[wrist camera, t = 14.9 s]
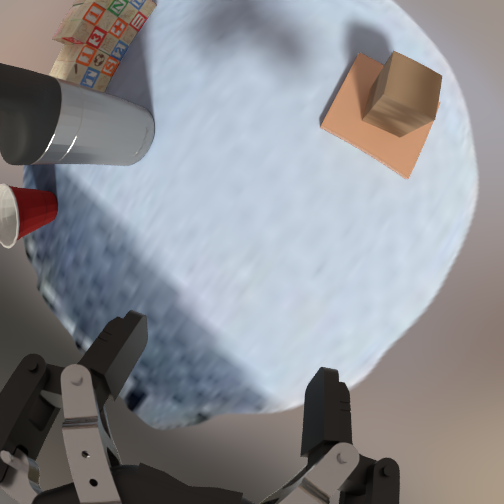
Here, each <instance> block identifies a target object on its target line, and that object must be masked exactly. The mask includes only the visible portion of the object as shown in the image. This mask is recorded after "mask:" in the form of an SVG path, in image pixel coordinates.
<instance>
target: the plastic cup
mask: <svg viewBox="0 0 504 504" xmlns="http://www.w3.org/2000/svg"><path fill="white" fill-rule="evenodd" d="M57 210H58V204H57V199H56V197H55V195H54V194H53V193H52V192H49V191H41V190H36V189H26V188H17V187H11V186H8V185H7V184H0V243H1V244H2V245H3V246H4V247H6V248H11V247H12V246H13V245H14V244H15V243H16V241H17V240H19V239H20V238H21V237H23V236H25V235H27V234H29V233H31V232H32V231H34V230H36V229H38V228H40V227H41V226H43V225H46V224H48V223H50V222H51V221H53V220H54V219H55V217H56V215H57Z"/></svg>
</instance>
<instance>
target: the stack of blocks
mask: <svg viewBox="0 0 504 504" xmlns="http://www.w3.org/2000/svg"><path fill="white" fill-rule="evenodd" d="M156 6H157V5H156V4H155V3H154V2H153V1H152V0H76V1H75V2H74V4H73V6H72V7H71V8H70V10H69V12H68V13H67V15H66V16H65V18H64V19H63V22H62V23H61V25H60V26H59V28H58V29H57V31H56V33H55V35H54V36H53V38H52V39H53V40H56V41H58V42H61V43H63V44H64V47H63V48H62V50H61V52H60V54H59V56H58V58H57V60H56V62H55V64H54V66H53V68H52V70H51V72H50V74H49V76H53V77H56V78H60V79H63V80H67V81H70V82H74V83H77V84H80V85H83V86H86V87H89V88H93V89H95V90H98V91H101V92H105V90H106V88H107V86H108V84H109V82H110V79H111V77H112V76H113V74H114V72H115V70H116V68H117V66H118V65H119V63H120V60H121V59H122V57H123V55H124V54H125V52H126V50H127V48H128V47H129V45H130V43H131V42H132V40H133V39H134V37H135V35H136V34H137V32H138V31H139V30H140V28H141V27H142V25H143V24H144V22H145V21H146V19H147V18H148V17H149V15H150V14H151V13H152V11H153V10H154V9H155V7H156Z"/></svg>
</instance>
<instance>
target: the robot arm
mask: <svg viewBox="0 0 504 504" xmlns="http://www.w3.org/2000/svg"><path fill="white" fill-rule="evenodd" d="M153 137H154V121H153V118H152V116H151V114H150V113H149V111H148V110H147V109H145V108H144V107H141V106H139V105H136V104H134V103H131V102H129V101H126V100H124V99H121V98H118V97H115V96H113V95H110V94H107V93H104V92H101V91H98V90H95V89H93V88H89V87H86V86H83V85H80V84H77V83H74V82H70V81H67V80H63V79H60V78H56V77H53V76H49V75H44V74H41V73H37V72H34V71H30V70H26V69H23V68H19V67H14V66H10V65H6V64H2V63H0V152H1V155H2V157H3V159H4V160H5V161H6V162H7V163H8V164H11V165H33V164H96V165H118V166H128V165H132V164H134V163H136V162H138V161H139V160H140V159H141V158H142V157H144V155H145V154H146V153H147V151H148V150H149V148H150V146H151V144H152V141H153ZM147 340H148V329H147V316H146V315H144V314H141V313H138V312H136V311H133V310H130V311H129V312H128V313H127V314H126V316H125V317H124V318H120V317H116V318H115V319H113V320H111V321H110V322H108V324H107V325H106V326H105V328H104V329H103V331H102V332H101V333H100V334H99V336H98V338H96V340H95V341H94V342H93V344H92V345H91V346H90V348H89V349H88V351H87V352H86V353H85V355H84V356H83V358H82V359H81V360H80V361H79V362H78V363H77V364H73V365H69V366H68V367H66V368H63V367H58V366H54V365H50V364H46V362H45V360H44V359H43V358H42V357H41V356H40V355H38V354H29V355H27V356H26V357H24V358H23V360H22V361H21V362H20V364H19V365H18V367H17V368H16V370H15V371H14V373H13V374H12V376H11V377H10V379H9V380H8V382H7V383H6V385H5V386H4V388H3V390H2V391H1V393H0V488H1V489H2V490H3V491H5V492H6V493H7V494H8V495H9V496H11V497H12V498H13V499H14V500H16V501H17V502H18V503H19V504H255V503H253V502H252V501H250V500H248V499H247V498H245V497H242V495H243V493H240V492H234V491H230V490H225V489H221V488H212V487H192V486H188V485H186V484H184V483H182V482H180V481H179V480H177V479H175V478H174V477H172V476H170V475H169V474H167V473H165V472H163V471H160V470H158V469H155V468H153V467H150V466H147V465H145V464H143V463H140V465H139V466H137V465H122V463H121V460H120V457H119V454H118V451H117V449H116V446H115V444H114V442H113V439H112V435H111V431H110V427H109V423H108V420H107V415H106V411H105V407H104V404H105V402H106V400H107V399H108V398H109V399H111V400H112V401H115V400H116V398H117V397H118V395H119V393H120V391H121V389H122V388H123V386H124V384H125V382H126V380H127V379H128V377H129V375H130V373H131V372H132V370H133V368H134V366H135V364H136V363H137V361H138V359H139V358H140V356H141V354H142V352H143V351H144V349H145V347H146V344H147ZM61 408H63V409H64V416H65V422H64V423H63V424H62V431H63V437H64V443H65V447H66V453H67V457H68V461H69V465H70V469H71V473H72V477H73V481H74V482H73V483H70V484H66V485H63V486H60V487H57V488H54V489H50V490H47V491H42V490H41V488H40V485H39V477H40V470H39V467H38V465H37V463H36V462H35V461H36V459H37V456H38V454H39V452H40V450H41V448H42V445H43V443H44V441H45V439H46V437H47V435H48V433H49V431H50V428H51V427H52V424H53V423H54V421H55V418H56V417H57V415H58V413H59V411H60V409H61ZM350 410H351V408H350V394H349V390H348V388H347V386H346V384H345V383H344V382H339V374H338V370H336V369H331V368H325V367H321V368H320V369H319V370H318V371H317V373H316V374H315V376H314V377H313V378H312V380H311V381H310V383H309V384H308V386H307V389H306V392H305V402H304V419H303V432H302V445H301V457H308V463H307V464H306V465H305V466H304V467H303V468H302V469H301V470H300V471H299V472H298V473H297V474H296V475H294V476H293V477H292V478H291V479H290V480H289V481H288V482H287V483H286V484H284V485H283V486H282V487H281V488H280V489H279V490H277V491H276V492H274V493H273V494H271V495H270V496H268V497H267V498H266V499H265V500H263V501H262V502H261V503H260V504H329V503H330V501H329V499H330V497H331V496H332V495H333V494H334V493H335V492H336V490H339V491H340V498H339V504H399V491H400V490H399V489H400V473H399V471H400V470H399V466H398V464H397V463H396V461H394V460H393V459H391V458H383V459H381V460H379V461H376V460H373V459H371V458H367V457H365V456H362V455H361V454H359V453H358V451H357V449H356V448H355V447H354V446H353V443H352V430H351V429H352V428H351V413H350Z"/></svg>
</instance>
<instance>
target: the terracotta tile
mask: <svg viewBox="0 0 504 504" xmlns="http://www.w3.org/2000/svg"><path fill="white" fill-rule="evenodd" d="M383 67H384V65H382V64H381V63H379V62H377V61H375V60H373V59H371V58H369V57H368V56H366V55H364V54H362V53H360V52H359V54H358V56H357V58H356V60H355V61H354V63H353V65H352V67H351V69H350V71H349V73H348V75H347V77H346V79H345V81H344V83H343V84H342V86H341V88H340V90H339V92H338V94H337V96H336V98H335V100H334V102H333V104H332V105H331V107H330V109H329V111H328V113H327V115H326V117H325V119H324V121H323V123H322V125H321V128H322V129H324V130H326V131H327V132H329V133H331V134H333V135H335V136H337V137H339V138H340V139H342V140H344V141H346V142H348V143H349V144H351V145H353V146H355V147H356V148H358V149H360V150H361V151H363V152H365V153H366V154H368V155H370V156H371V157H373V158H374V159H376V160H378V161H379V162H381V163H382V164H384V165H385V166H387V167H388V168H390V169H392V170H393V171H394V172H396V173H397V174H399V175H400V176H402V177H403V178H405V179H408V178H409V176H410V174H411V172H412V170H413V168H414V166H415V164H416V161H417V159H418V157H419V155H420V152H421V150H422V148H423V146H424V143H425V141H426V138H427V136H428V134H429V131H430V129H431V126H432V124H433V121H432V122H430V123H428V124H426V125H424V126H422V127H420V128H418V129H416V130H414V131H412V132H410V133H408V134H406V135H404V136H402V137H400V138H399V137H397V136H395V135H393V134H391V133H389V132H387V131H385V130H382V129H380V128H378V127H376V126H373V125H371V124H369V123H366V122H364V121H362V118H363V115H364V111H365V108H366V104H367V101H368V97H369V94H370V90H371V86H372V85H373V83H374V81H375V80H376V78H377V77H378V75H379V73H380V72H381V70H382V69H383ZM439 105H440V102H439V101H438V107H437V111H438V108H439ZM436 113H437V112H436Z"/></svg>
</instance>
